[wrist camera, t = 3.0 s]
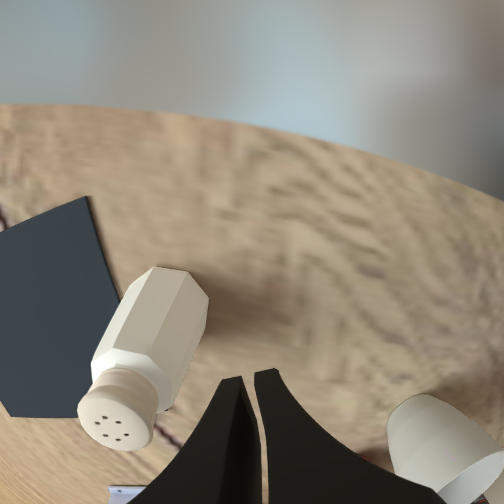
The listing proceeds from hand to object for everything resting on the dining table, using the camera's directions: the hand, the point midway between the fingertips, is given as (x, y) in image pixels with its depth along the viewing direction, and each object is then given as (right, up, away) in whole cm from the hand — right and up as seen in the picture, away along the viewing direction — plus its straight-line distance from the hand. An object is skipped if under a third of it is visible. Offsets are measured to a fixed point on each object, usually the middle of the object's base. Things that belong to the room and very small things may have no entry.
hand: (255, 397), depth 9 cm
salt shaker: (-5, +1, +10) cm, 12 cm away
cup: (+14, -10, +14) cm, 22 cm away
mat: (-17, -2, +10) cm, 20 cm away
